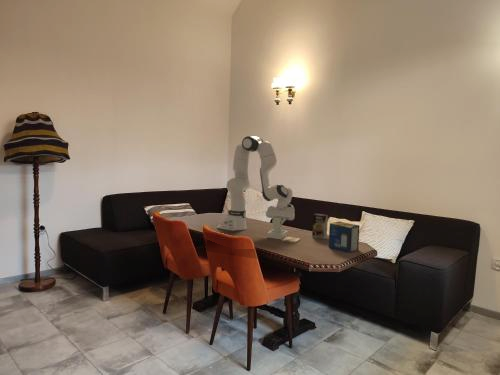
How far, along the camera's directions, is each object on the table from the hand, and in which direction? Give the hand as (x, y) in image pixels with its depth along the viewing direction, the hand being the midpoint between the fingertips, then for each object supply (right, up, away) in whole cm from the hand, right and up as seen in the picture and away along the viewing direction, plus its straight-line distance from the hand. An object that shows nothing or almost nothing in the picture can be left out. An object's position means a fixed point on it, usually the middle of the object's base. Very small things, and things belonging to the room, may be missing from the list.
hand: (277, 223), depth 253 cm
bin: (0, -10, +2) cm, 10 cm away
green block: (0, -9, +2) cm, 9 cm away
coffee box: (+30, -11, +4) cm, 32 cm away
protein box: (+39, -14, -25) cm, 48 cm away
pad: (+9, -11, -8) cm, 16 cm away
